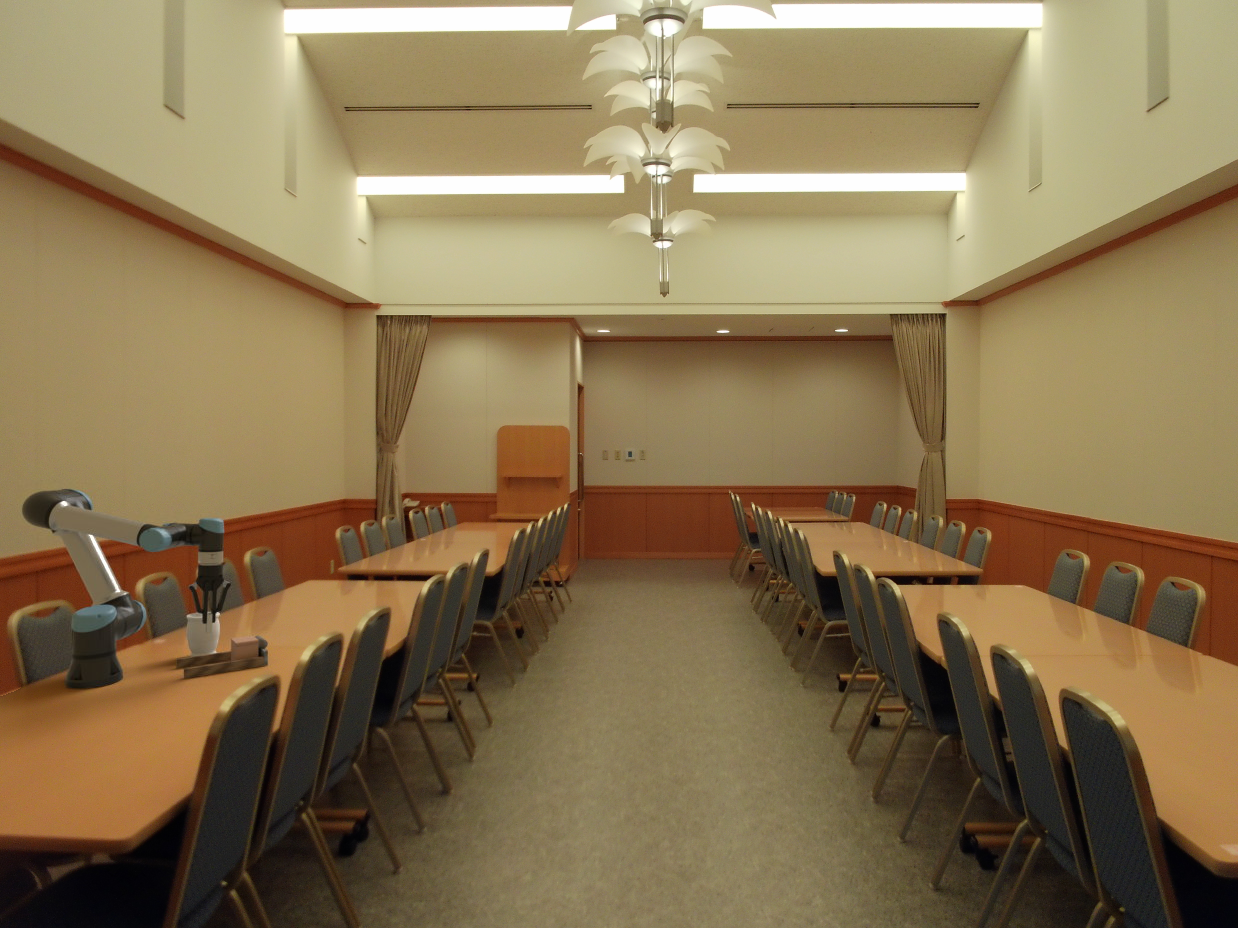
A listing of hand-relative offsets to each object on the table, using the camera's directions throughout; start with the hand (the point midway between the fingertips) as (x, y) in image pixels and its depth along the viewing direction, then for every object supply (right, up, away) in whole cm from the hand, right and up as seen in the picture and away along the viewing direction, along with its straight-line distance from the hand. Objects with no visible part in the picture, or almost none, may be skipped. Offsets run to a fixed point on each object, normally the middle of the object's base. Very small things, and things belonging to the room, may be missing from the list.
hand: (208, 632), depth 252 cm
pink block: (+9, -12, +7) cm, 16 cm away
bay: (+4, -12, +3) cm, 13 cm away
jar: (-11, -12, +16) cm, 22 cm away
